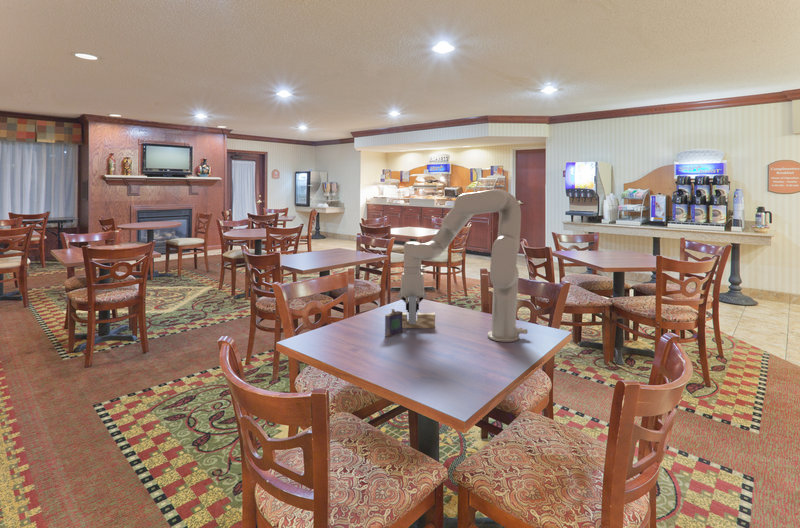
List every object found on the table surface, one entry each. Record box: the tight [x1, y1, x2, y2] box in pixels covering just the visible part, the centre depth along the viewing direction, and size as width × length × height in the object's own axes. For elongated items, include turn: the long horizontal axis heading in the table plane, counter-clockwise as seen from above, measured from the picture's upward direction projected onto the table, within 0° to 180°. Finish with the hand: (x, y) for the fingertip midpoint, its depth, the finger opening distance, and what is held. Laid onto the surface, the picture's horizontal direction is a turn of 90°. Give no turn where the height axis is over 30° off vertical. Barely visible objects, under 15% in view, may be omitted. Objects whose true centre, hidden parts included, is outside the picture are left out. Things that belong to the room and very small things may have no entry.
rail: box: [388, 312, 436, 329], centre depth 195 cm, size 20×3×6 cm, turn 90°
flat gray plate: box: [408, 296, 417, 324], centre depth 194 cm, size 10×3×12 cm, turn 0°
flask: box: [384, 308, 403, 338], centre depth 185 cm, size 9×3×11 cm, turn 134°
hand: (412, 311), depth 195 cm, fingers closed on flat gray plate, 3 cm apart
